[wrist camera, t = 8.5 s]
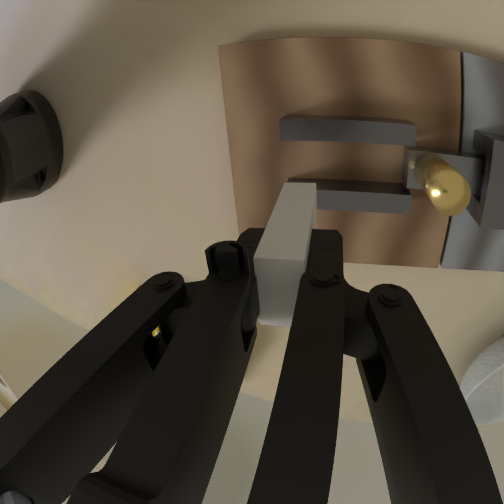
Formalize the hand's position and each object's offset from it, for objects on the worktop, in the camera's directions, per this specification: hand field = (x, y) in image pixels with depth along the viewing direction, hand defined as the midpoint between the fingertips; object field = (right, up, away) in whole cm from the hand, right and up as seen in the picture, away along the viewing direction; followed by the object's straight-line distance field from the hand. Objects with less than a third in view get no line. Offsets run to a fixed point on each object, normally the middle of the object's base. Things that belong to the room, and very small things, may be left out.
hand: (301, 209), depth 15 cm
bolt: (+15, +5, +6) cm, 17 cm away
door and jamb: (+11, +6, +9) cm, 16 cm away
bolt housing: (+11, +5, +7) cm, 15 cm away
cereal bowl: (+33, -16, +17) cm, 41 cm away
